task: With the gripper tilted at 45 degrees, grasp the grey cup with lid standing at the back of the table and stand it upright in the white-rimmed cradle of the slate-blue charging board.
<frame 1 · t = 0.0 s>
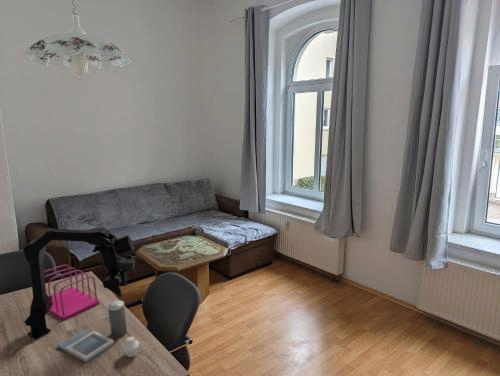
hand: (123, 290, 147), 15 cm above the table, tool pointing down, fingers open, 9 cm apart
grey cup with lid: (119, 333, 145), on the table
file sorter: (68, 304, 168), on the table
charging board: (90, 348, 135), on the table
muffin: (131, 354, 131), on the table
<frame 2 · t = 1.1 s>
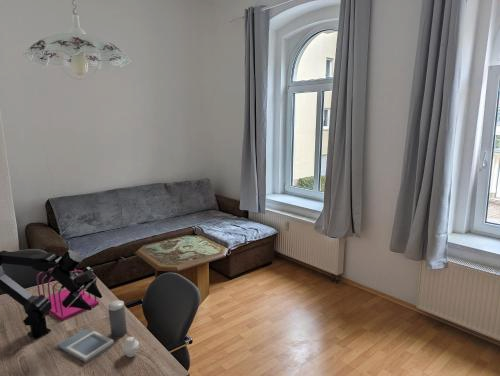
hand: (96, 303, 142), 13 cm above the table, tool tilted 45°, fingers open, 9 cm apart
nothing on the table moved.
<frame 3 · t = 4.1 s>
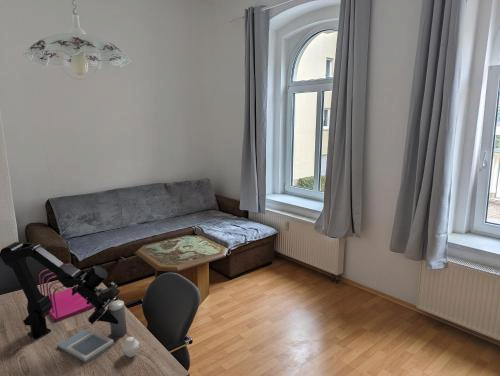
hand: (120, 318, 143), 7 cm above the table, tool tilted 45°, fingers closed on grey cup with lid, 6 cm apart
grey cup with lid: (119, 333, 144), on the table, touching gripper
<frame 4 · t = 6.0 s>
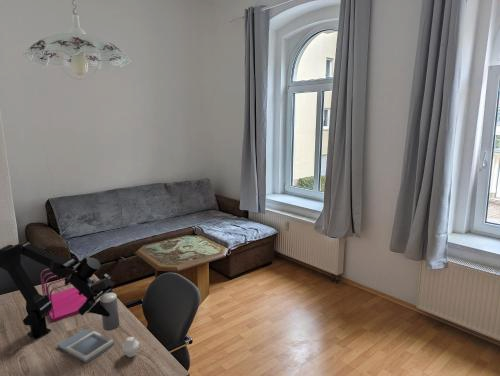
hand: (113, 311, 139), 11 cm above the table, tool tilted 45°, fingers closed on grey cup with lid, 6 cm apart
grey cup with lid: (111, 326, 141), point 5 cm above the table, touching gripper
when the fingers open (9 cm above the table, at t = 7.9 s): grey cup with lid drops 2 cm, resting on charging board.
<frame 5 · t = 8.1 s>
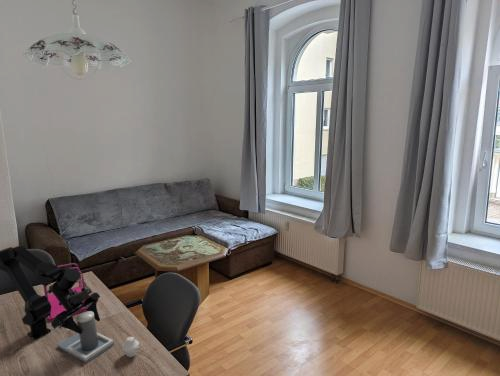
hand: (90, 326, 133), 10 cm above the table, tool tilted 45°, fingers open, 8 cm apart
grey cup with lid: (90, 345, 135), point 1 cm above the table, touching charging board
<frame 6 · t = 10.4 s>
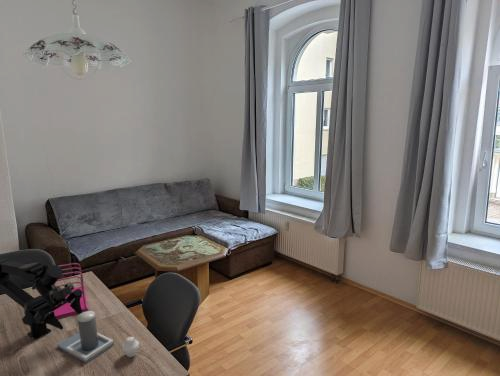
hand: (72, 322, 136), 9 cm above the table, tool tilted 45°, fingers open, 9 cm apart
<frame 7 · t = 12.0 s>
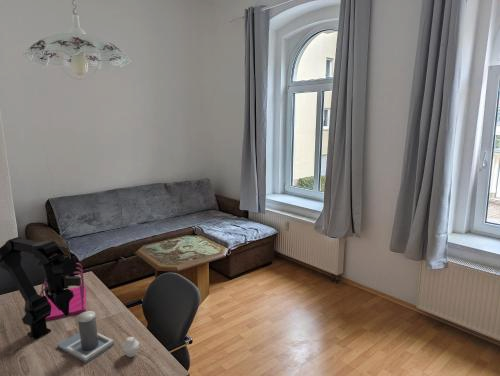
hand: (64, 312, 136), 13 cm above the table, tool pointing down, fingers open, 9 cm apart
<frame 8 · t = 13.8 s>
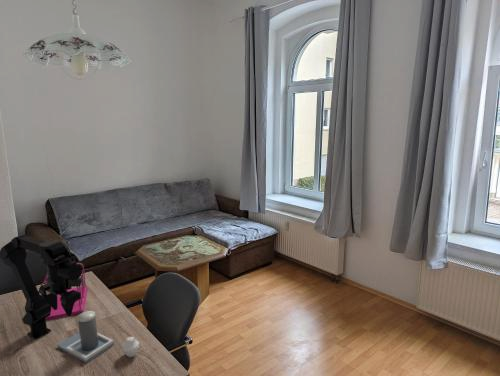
hand: (62, 312, 136), 13 cm above the table, tool pointing down, fingers open, 9 cm apart
at the end: grey cup with lid 0.1 cm off-centre on the charging board, point 1.0 cm above the charging board's base; grey cup with lid tilted 1°; the gripper is holding nothing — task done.
